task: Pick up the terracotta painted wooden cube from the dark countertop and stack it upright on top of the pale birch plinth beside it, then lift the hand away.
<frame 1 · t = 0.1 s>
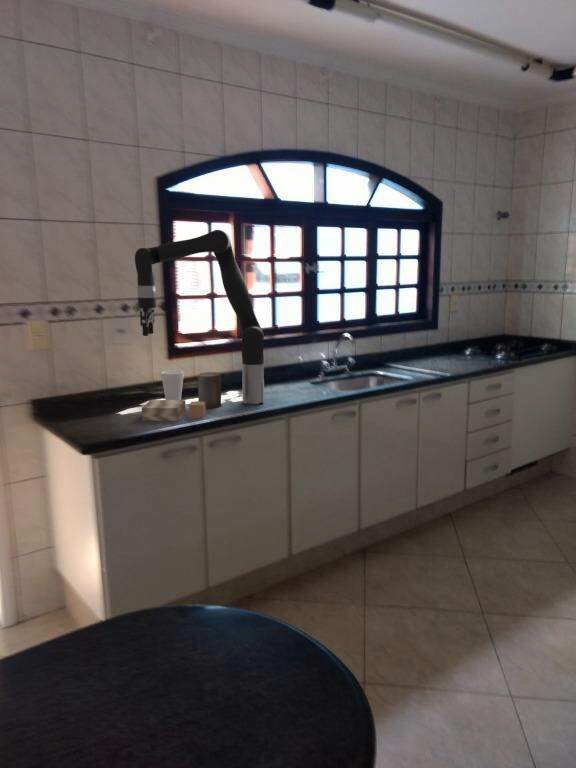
hand: (148, 334, 245), 29 cm above the table, fingers open, 8 cm apart
birch plinth: (164, 416, 225), on the table
pillar candle: (209, 406, 244), on the table
terracotta cube: (197, 416, 225), on the table
foam cup: (173, 401, 251), on the table
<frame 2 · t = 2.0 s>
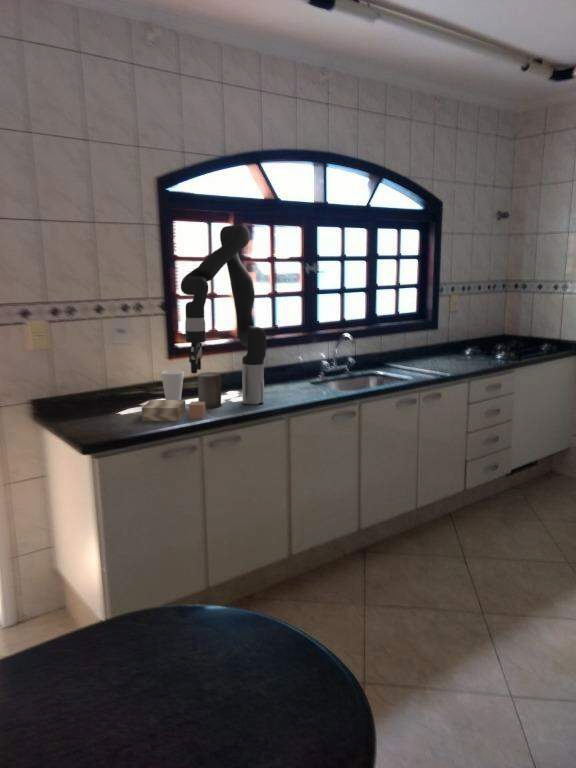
hand: (196, 371, 222), 18 cm above the table, fingers open, 8 cm apart
nothing on the table moved.
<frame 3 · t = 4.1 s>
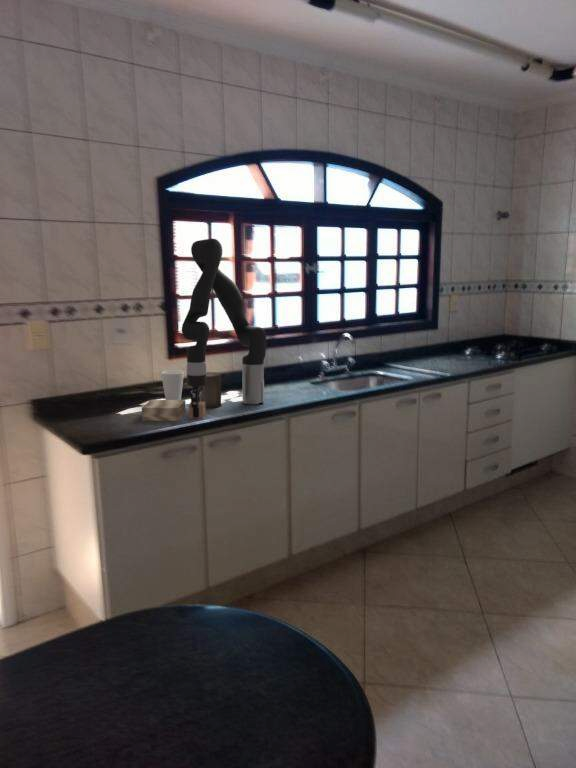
hand: (197, 415, 225), 1 cm above the table, fingers closed on terracotta cube, 5 cm apart
terracotta cube: (197, 416, 225), on the table, touching gripper
everything else where it was.
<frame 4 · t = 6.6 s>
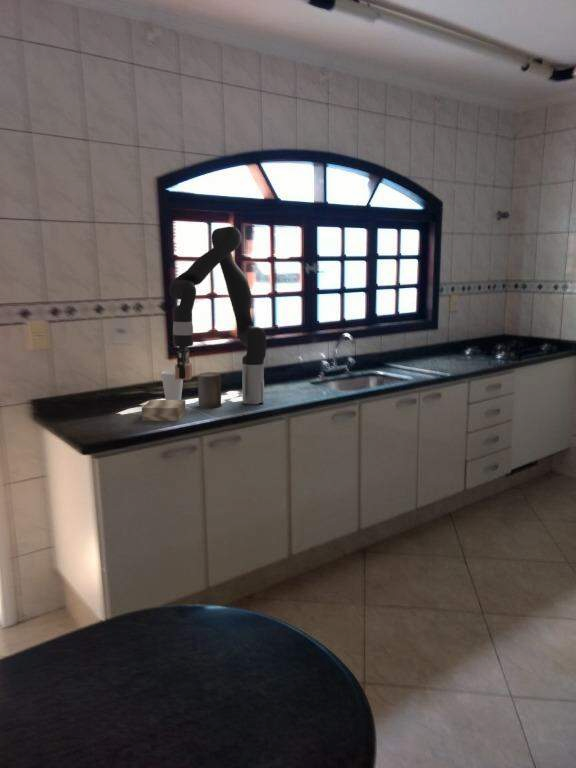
hand: (183, 376, 222), 16 cm above the table, fingers closed on terracotta cube, 5 cm apart
terracotta cube: (183, 378, 222), point 15 cm above the table, touching gripper
everything else where it was.
when the fingers open (7 cm above the table, at t = 9.2 s): terracotta cube drops 1 cm, resting on birch plinth.
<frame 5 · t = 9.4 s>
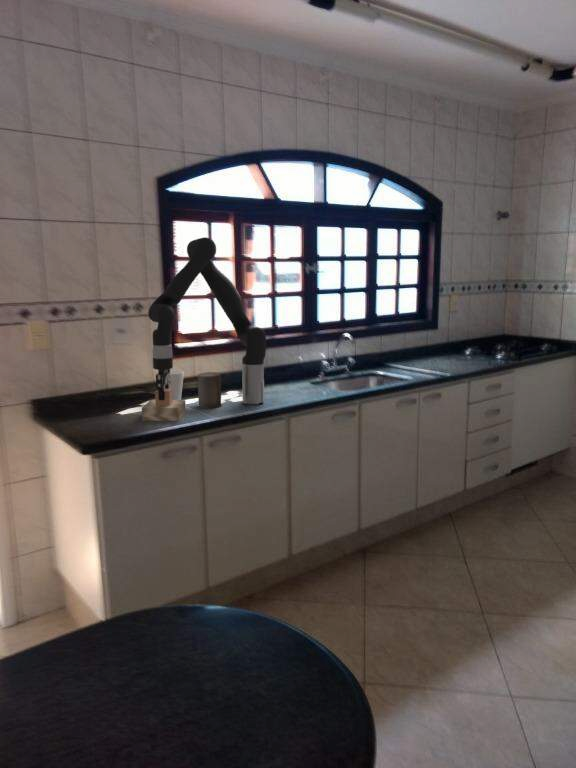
hand: (163, 397, 224), 7 cm above the table, fingers open, 7 cm apart
terracotta cube: (164, 403, 224), point 5 cm above the table, touching birch plinth
everything else where it was.
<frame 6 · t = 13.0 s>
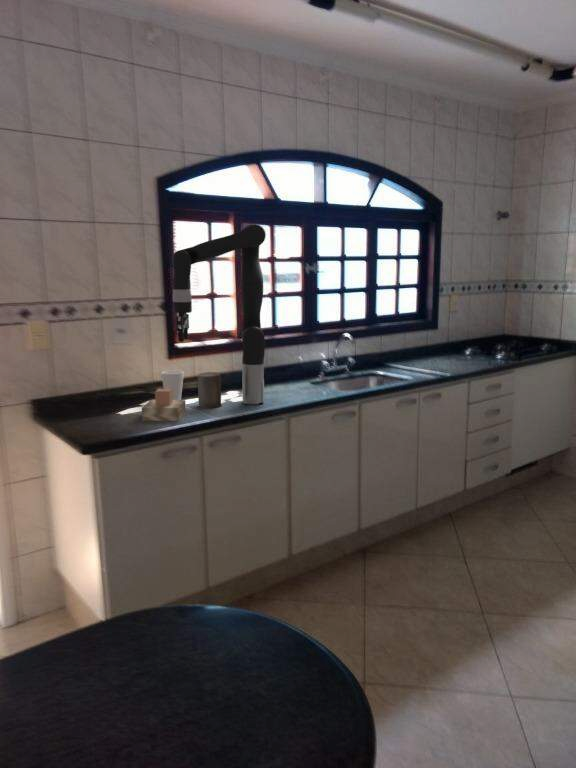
hand: (183, 340, 236), 28 cm above the table, fingers open, 8 cm apart
nothing on the table moved.
at the end: terracotta cube inside the target area on the birch plinth (0.0 cm from its centre), point 5.0 cm above the birch plinth's base; terracotta cube tilted 0°; the gripper is holding nothing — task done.
